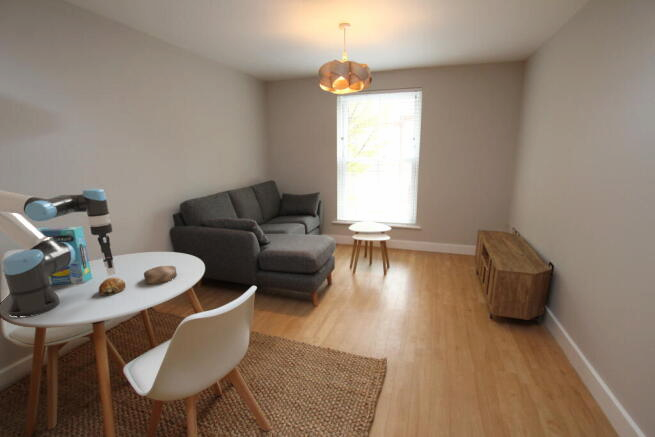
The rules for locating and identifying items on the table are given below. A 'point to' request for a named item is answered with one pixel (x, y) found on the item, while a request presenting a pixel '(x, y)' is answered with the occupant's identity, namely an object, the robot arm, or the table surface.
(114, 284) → the bread roll
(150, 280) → the walnut stand
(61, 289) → the table surface
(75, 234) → the game box
